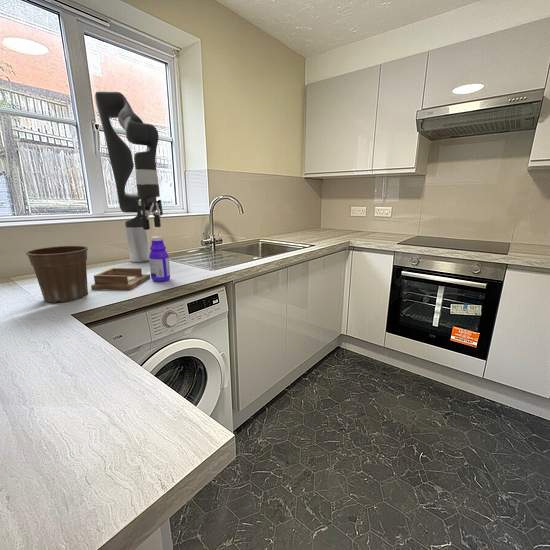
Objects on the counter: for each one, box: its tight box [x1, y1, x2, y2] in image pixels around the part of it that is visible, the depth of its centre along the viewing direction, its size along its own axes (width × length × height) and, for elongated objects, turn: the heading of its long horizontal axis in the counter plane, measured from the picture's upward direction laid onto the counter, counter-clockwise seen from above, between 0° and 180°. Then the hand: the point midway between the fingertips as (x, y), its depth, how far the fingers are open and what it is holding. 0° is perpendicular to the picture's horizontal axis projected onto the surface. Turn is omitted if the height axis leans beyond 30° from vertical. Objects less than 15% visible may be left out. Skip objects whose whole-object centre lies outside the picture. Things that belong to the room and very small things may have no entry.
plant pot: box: [25, 245, 89, 304], centre depth 97 cm, size 16×16×16 cm
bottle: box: [148, 235, 171, 283], centre depth 116 cm, size 7×6×17 cm
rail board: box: [90, 267, 151, 291], centre depth 113 cm, size 16×14×4 cm
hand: (152, 228), depth 112 cm, fingers open, 8 cm apart
